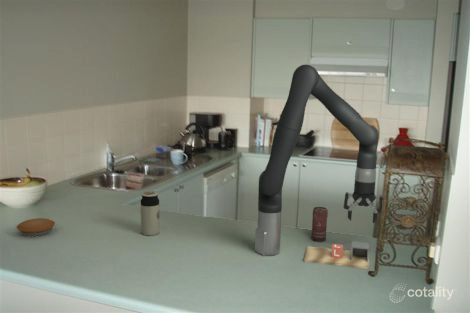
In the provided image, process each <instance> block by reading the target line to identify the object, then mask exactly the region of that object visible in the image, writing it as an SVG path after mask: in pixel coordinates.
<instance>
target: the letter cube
mask: <svg viewBox="0 0 470 313" xmlns="http://www.w3.org/2000/svg"><path fill="white" fill-rule="evenodd" d="M331 249H332V258H341V259H342V254H343V250H344V245H343V244H337V243H332V245H331Z"/></svg>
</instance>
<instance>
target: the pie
mask: <svg viewBox="0 0 470 313" xmlns="http://www.w3.org/2000/svg"><path fill="white" fill-rule="evenodd" d="M55 225H56V222H55V221H54V220H51V219H49V218H43V217H41V218H31V219H27V220H24V221H22V222H20V223H19V224H17V226H16V230H17V231H18V232H20V233H21V234H23V236H24V235H25V236H24V237H27V236H31V237H30V238H36V237H35V236H38V237H41V236H42V235H43V236H46V235H49V234H50V232H52V229H53V228H54V226H55ZM32 236H33V237H32ZM43 236H42V237H43Z"/></svg>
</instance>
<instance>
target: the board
mask: <svg viewBox="0 0 470 313" xmlns="http://www.w3.org/2000/svg"><path fill="white" fill-rule="evenodd" d="M303 262H305V263H311V264H313V263H314V264H321V265H329V266H338V267H339V266H340V267H348V268H355V269H356V268H358V269H366V270H369V269H370V256H369V257H368V262H367V257H365V256H355V255H352V260H351V250H347V249H343V254H342V259H341V258H332V248H328V247H319V246H311V245H310V246H309V245H308V246H307V249H306V250H305V254H304V258H303Z"/></svg>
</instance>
